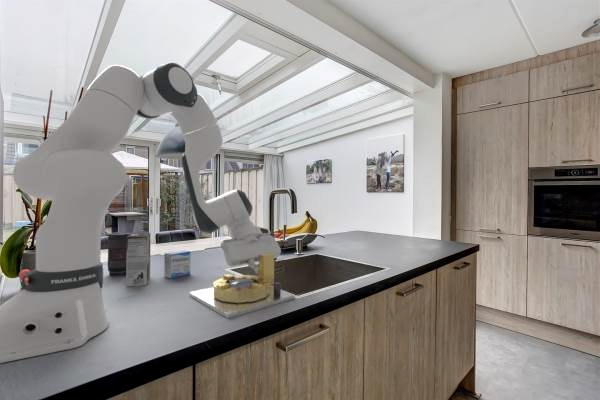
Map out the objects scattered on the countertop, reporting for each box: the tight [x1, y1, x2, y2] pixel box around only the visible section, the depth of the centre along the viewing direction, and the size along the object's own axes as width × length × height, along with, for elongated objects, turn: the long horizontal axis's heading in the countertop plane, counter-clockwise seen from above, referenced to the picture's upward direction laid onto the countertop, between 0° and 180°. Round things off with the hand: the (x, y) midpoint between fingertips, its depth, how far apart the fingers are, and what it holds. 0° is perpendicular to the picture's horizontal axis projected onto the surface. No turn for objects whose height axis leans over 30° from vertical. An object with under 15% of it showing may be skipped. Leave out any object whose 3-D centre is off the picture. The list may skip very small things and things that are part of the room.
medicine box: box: [163, 250, 191, 280], centre depth 111 cm, size 8×4×9 cm, turn 143°
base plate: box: [188, 279, 296, 319], centre depth 89 cm, size 22×22×4 cm
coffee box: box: [125, 232, 151, 288], centre depth 102 cm, size 9×6×16 cm
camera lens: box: [107, 232, 132, 278], centre depth 112 cm, size 8×8×15 cm
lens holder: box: [212, 253, 275, 303], centre depth 90 cm, size 19×16×10 cm
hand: (263, 271), depth 98 cm, fingers closed, pressing on lens holder
